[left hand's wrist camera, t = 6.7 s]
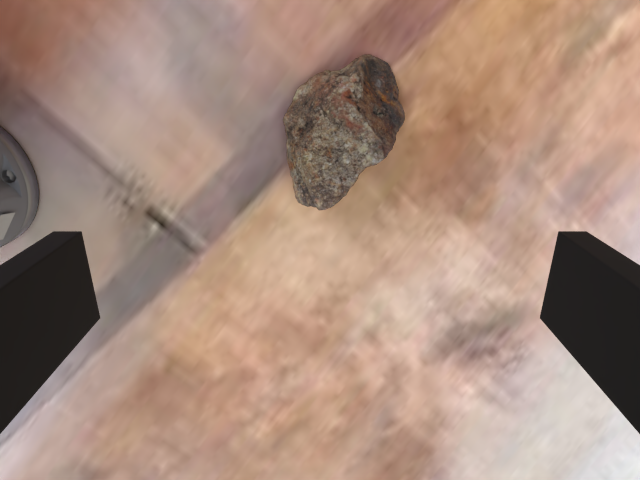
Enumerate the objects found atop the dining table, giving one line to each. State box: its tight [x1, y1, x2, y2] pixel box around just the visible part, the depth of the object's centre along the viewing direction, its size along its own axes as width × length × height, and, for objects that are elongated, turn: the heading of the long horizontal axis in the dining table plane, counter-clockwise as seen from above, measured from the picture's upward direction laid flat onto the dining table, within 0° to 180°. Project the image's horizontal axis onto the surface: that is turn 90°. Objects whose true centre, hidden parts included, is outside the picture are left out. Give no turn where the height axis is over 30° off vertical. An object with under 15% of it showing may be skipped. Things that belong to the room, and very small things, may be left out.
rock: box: [283, 55, 405, 210], centre depth 41 cm, size 14×9×10 cm
